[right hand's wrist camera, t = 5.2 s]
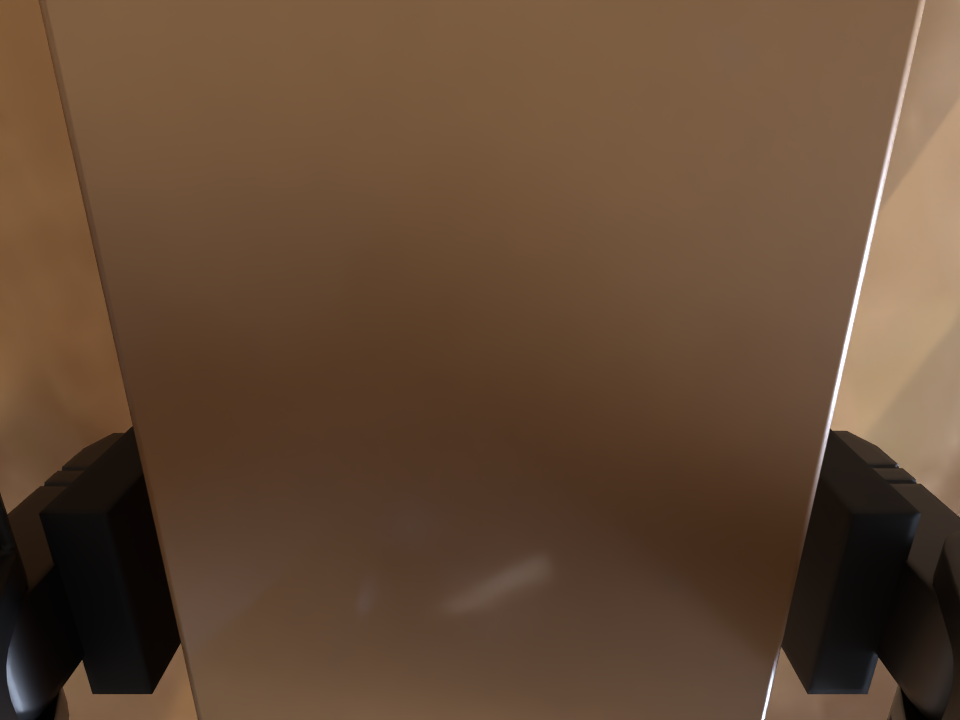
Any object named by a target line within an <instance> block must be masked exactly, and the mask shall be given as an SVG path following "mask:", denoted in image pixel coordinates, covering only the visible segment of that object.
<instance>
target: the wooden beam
mask: <svg viewBox="0 0 960 720" xmlns="http://www.w3.org/2000/svg"><path fill="white" fill-rule="evenodd" d="M925 1H926V0H39V4H40V8H41V13H42V17H43V22H44V26H45V31H46V35H47V40H48V44H49V49H50V53H51V58H52V62H53V67H54V71H55V76H56V80H57V85H58V89H59V94H60V99H61V103H62V108H63V112H64V117H65V121H66V126H67V130H68V135H69V139H70V144H71V148H72V153H73V157H74V162H75V166H76V171H77V175H78V180H79V184H80V189H81V193H82V198H83V202H84V207H85V211H86V216H87V220H88V225H89V229H90V234H91V238H92V243H93V248H94V252H95V257H96V261H97V266H98V270H99V275H100V279H101V284H102V288H103V293H104V297H105V302H106V306H107V311H108V315H109V320H110V324H111V329H112V333H113V338H114V342H115V347H116V351H117V356H118V360H119V365H120V369H121V374H122V378H123V383H124V387H125V392H126V396H127V401H128V406H129V410H130V415H131V419H132V424H133V428H134V433H135V437H136V442H137V446H138V451H139V455H140V460H141V464H142V469H143V473H144V478H145V482H146V487H147V491H148V496H149V500H150V505H151V509H152V514H153V518H154V523H155V527H156V532H157V536H158V541H159V545H160V550H161V554H162V559H163V564H164V568H165V573H166V577H167V582H168V586H169V591H170V595H171V600H172V604H173V609H174V613H175V618H176V622H177V627H178V631H179V636H180V640H181V645H182V649H183V654H184V658H185V663H186V667H187V672H188V676H189V681H190V685H191V690H192V694H193V699H194V703H195V708H196V712H197V717H198V720H765V716H766V712H767V707H768V703H769V698H770V694H771V689H772V685H773V680H774V676H775V672H776V667H777V663H778V658H779V654H780V649H781V645H782V640H783V636H784V631H785V627H786V622H787V618H788V613H789V609H790V604H791V600H792V596H793V591H794V587H795V582H796V578H797V573H798V569H799V564H800V560H801V555H802V551H803V546H804V542H805V537H806V533H807V528H808V524H809V520H810V515H811V511H812V506H813V502H814V497H815V493H816V488H817V484H818V479H819V475H820V470H821V466H822V461H823V457H824V452H825V448H826V444H827V439H828V435H829V430H830V426H831V421H832V417H833V412H834V408H835V403H836V399H837V394H838V390H839V385H840V381H841V376H842V372H843V368H844V363H845V359H846V354H847V350H848V345H849V341H850V336H851V332H852V327H853V323H854V318H855V314H856V309H857V305H858V300H859V296H860V292H861V287H862V283H863V278H864V274H865V269H866V265H867V260H868V256H869V251H870V247H871V242H872V238H873V233H874V229H875V224H876V220H877V216H878V211H879V207H880V202H881V198H882V193H883V189H884V184H885V180H886V175H887V171H888V166H889V162H890V157H891V153H892V148H893V144H894V140H895V135H896V131H897V126H898V122H899V117H900V113H901V108H902V104H903V99H904V95H905V90H906V86H907V81H908V77H909V72H910V68H911V64H912V59H913V55H914V50H915V46H916V41H917V37H918V32H919V28H920V23H921V19H922V14H923V10H924V5H925Z"/></svg>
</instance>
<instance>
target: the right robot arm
mask: <svg viewBox="0 0 960 720" xmlns="http://www.w3.org/2000/svg"><path fill="white" fill-rule="evenodd" d="M180 643H181V640H180V636H179V631H178V627H177V622H176V618H175V613H174V609H173V604H172V600H171V595H170V591H169V586H168V582H167V577H166V573H165V568H164V564H163V559H162V554H161V550H160V545H159V541H158V536H157V532H156V527H155V523H154V518H153V514H152V509H151V505H150V500H149V496H148V491H147V487H146V482H145V478H144V473H143V469H142V464H141V460H140V455H139V451H138V446H137V442H136V437H135V433H134V428H133V426H132V427H131V428H130V429H129V430H128V431H127V432H126V433H113V434H111V435H109V436H107V437H105V438H103V439H101V440H99V441H97V442H95V443H94V444H92V445H90V446H88V447H86V448H84V449H82V450H81V451H80V452H79V453H78V454H77V455H75V456H74V457H73V458H72V459H71V460H70V461H69V462H67V463H66V464H65V465H64V466H63V467H62V471H57V472H56V473H55V474H54V475H52V476H51V477H50V478H49V479H48V480H47V481H46V482H45V485H44V486H40V487H39V488H38V489H36V490H35V491H34V492H33V493H32V494H31V495H29V496H28V497H27V498H26V499H25V500H24V501H23V502H21V503H20V504H19V505H18V506H17V507H16V508H15V509H13V510H12V511H11V512H10V513H9V514H8V515H7V512H6V509H5V506H4V503H3V500H2V497H1V494H0V720H68V719H69V711H68V705H67V700H66V697H65V694H64V690H63V686H64V684H65V683H66V681H67V680H68V679H69V677H70V676H71V675H72V673H73V672H74V670H75V669H76V668H77V666H78V665H79V663H80V662H81V661H82V660H83V663H84V667H85V670H86V674H87V677H88V680H89V684H90V687H91V690H92V694H152V693H153V692H154V690H155V688H156V686H157V684H158V683H159V681H160V679H161V677H162V675H163V674H164V672H165V670H166V668H167V666H168V665H169V663H170V661H171V659H172V657H173V656H174V654H175V652H176V650H177V648H178V647H179V645H180ZM781 647H782V648H783V650H784V652H785V654H786V656H787V657H788V659H789V661H790V663H791V665H792V667H793V668H794V670H795V672H796V674H797V676H798V677H799V679H800V681H801V683H802V685H803V686H804V688H805V690H806V692H807V694H868V690H869V687H870V684H871V680H872V677H873V673H874V670H875V667H876V663H877V660H878V657H879V658H880V660H881V661H882V663H883V664H884V665H885V667H886V668H887V669H888V671H889V672H890V674H891V675H892V676H893V678H894V679H895V681H896V682H897V683H898V687H897V690H896V694H895V697H894V700H893V703H892V706H891V709H890V712H889V715H888V719H887V720H960V517H959V516H957V515H956V514H955V513H954V512H953V511H952V510H950V509H949V508H948V507H947V506H946V505H945V504H943V503H942V502H941V501H940V500H939V499H938V498H937V497H935V496H934V495H933V494H932V493H931V492H930V491H928V490H927V489H926V488H925V487H924V486H923V485H921V484H916V479H915V478H913V477H912V476H911V475H910V474H909V473H908V472H906V471H905V470H904V469H903V468H899V467H898V464H897V463H896V462H895V461H894V460H892V459H891V458H890V457H889V456H888V455H887V454H886V453H884V452H883V451H882V450H881V449H880V448H879V447H877V446H876V445H874V444H872V443H870V442H868V441H866V440H864V439H862V438H860V437H858V436H856V435H854V434H852V433H850V432H848V431H832V430H831V429H830V430H829V435H828V439H827V444H826V448H825V452H824V457H823V461H822V466H821V470H820V475H819V479H818V484H817V488H816V493H815V497H814V502H813V506H812V511H811V515H810V520H809V524H808V528H807V533H806V537H805V542H804V546H803V551H802V555H801V560H800V564H799V569H798V573H797V578H796V582H795V587H794V591H793V596H792V600H791V604H790V609H789V613H788V618H787V622H786V627H785V631H784V636H783V640H782V645H781Z"/></svg>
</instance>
